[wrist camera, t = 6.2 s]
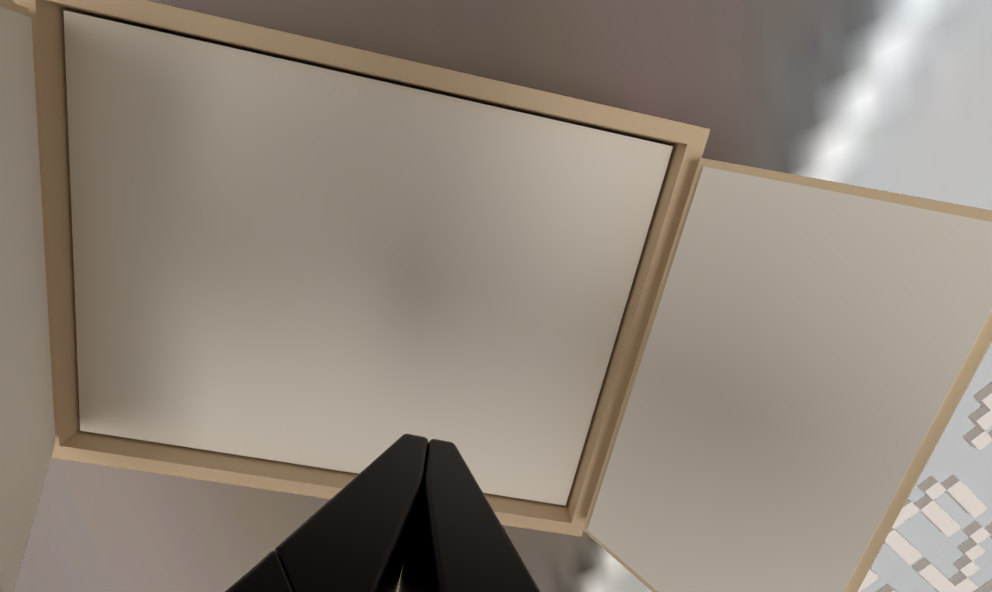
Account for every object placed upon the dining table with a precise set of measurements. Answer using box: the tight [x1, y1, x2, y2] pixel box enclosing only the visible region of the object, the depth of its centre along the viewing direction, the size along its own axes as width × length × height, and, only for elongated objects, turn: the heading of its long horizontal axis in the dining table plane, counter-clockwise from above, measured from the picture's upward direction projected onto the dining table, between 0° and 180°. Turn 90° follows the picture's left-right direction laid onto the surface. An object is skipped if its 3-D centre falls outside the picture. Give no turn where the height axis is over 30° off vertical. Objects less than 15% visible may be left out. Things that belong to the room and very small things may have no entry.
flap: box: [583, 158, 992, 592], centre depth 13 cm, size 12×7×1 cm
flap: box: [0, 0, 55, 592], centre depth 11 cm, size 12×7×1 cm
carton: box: [14, 0, 710, 536], centre depth 18 cm, size 14×18×6 cm
